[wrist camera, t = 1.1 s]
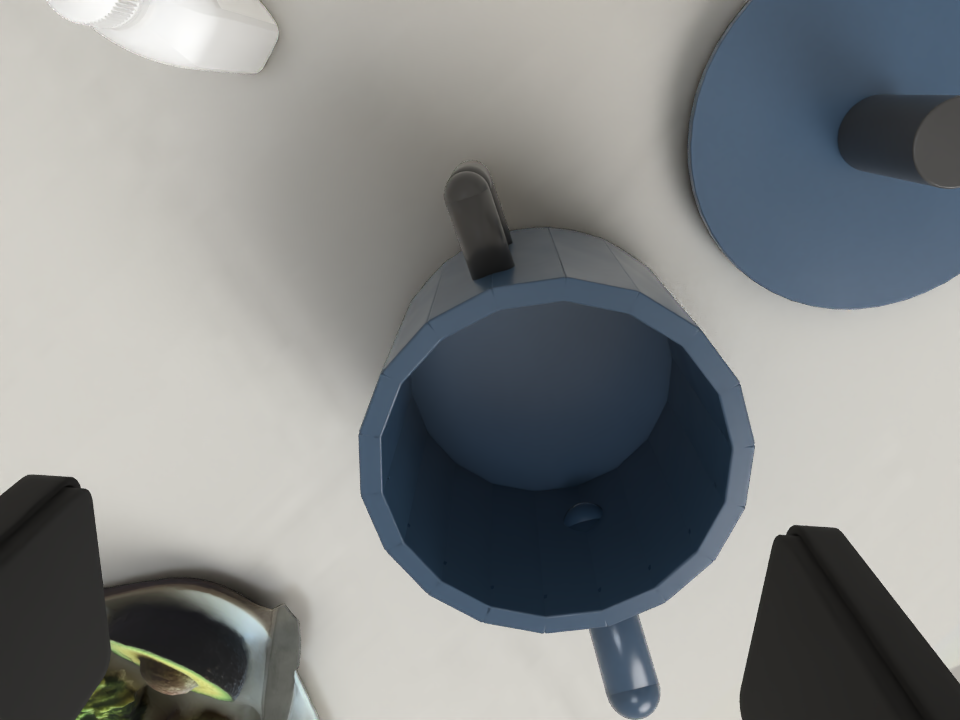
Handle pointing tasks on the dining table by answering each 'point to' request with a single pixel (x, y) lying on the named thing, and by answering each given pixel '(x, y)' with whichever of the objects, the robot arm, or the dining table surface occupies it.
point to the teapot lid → (833, 148)
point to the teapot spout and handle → (624, 641)
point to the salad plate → (198, 656)
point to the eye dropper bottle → (183, 30)
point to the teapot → (553, 438)
